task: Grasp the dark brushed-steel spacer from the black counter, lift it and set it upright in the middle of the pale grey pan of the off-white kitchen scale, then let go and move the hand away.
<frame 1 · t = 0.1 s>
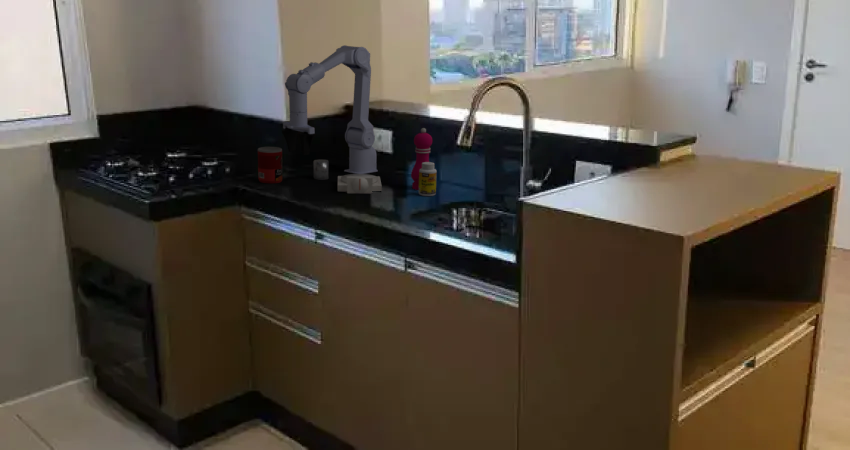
hand: (298, 152, 268), 10 cm above the countertop, fingers open, 7 cm apart
canned food: (270, 181, 272), on the countertop
scale: (359, 186, 268), on the countertop
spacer: (321, 178, 279), on the countertop
supplement bottle: (427, 195, 260), on the countertop
pepper mill: (421, 189, 268), on the countertop
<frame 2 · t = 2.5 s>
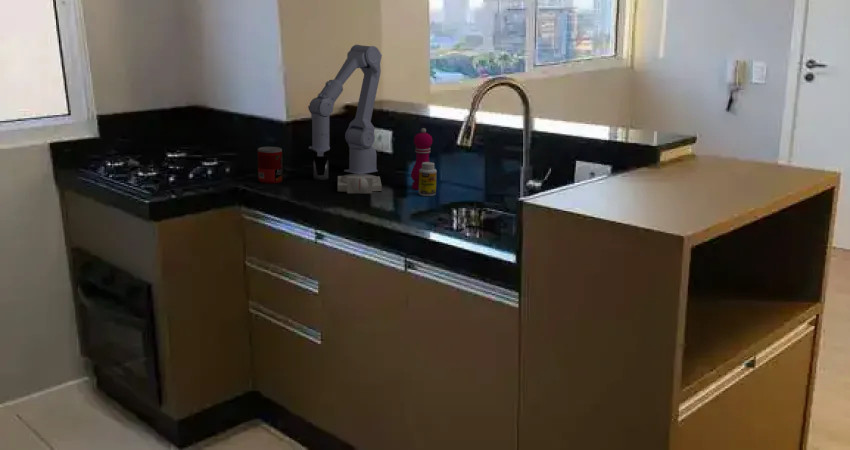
hand: (321, 173, 278), 2 cm above the countertop, fingers closed on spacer, 5 cm apart
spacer: (321, 178, 279), on the countertop, touching gripper
everything else where it was.
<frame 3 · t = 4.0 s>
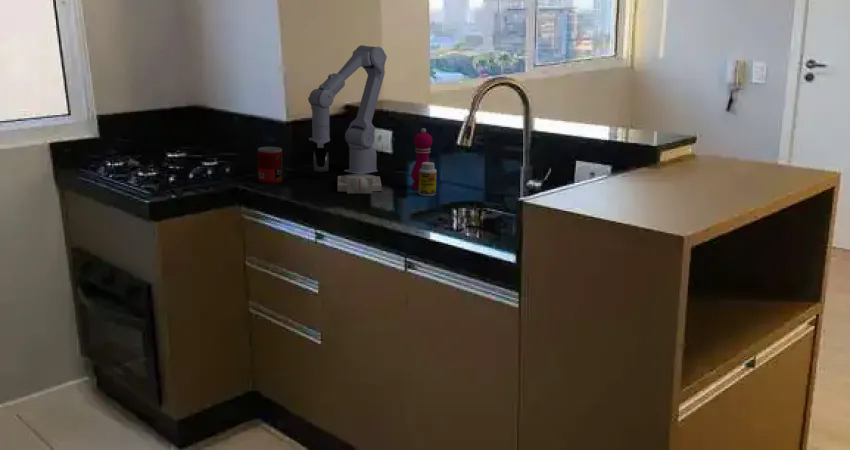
hand: (321, 165, 277), 4 cm above the countertop, fingers closed on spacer, 5 cm apart
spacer: (321, 170, 278), point 3 cm above the countertop, touching gripper
everything else where it was.
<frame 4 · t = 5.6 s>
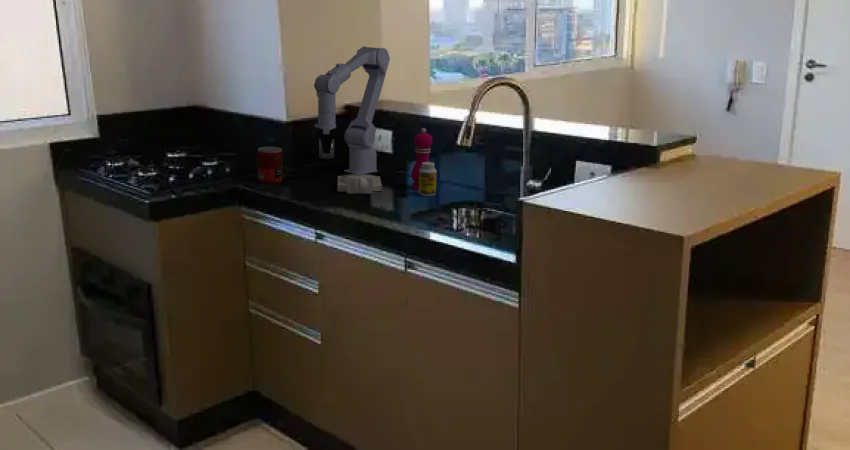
hand: (326, 152, 274), 9 cm above the countertop, fingers closed on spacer, 5 cm apart
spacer: (326, 157, 275), point 8 cm above the countertop, touching gripper
everything else where it was.
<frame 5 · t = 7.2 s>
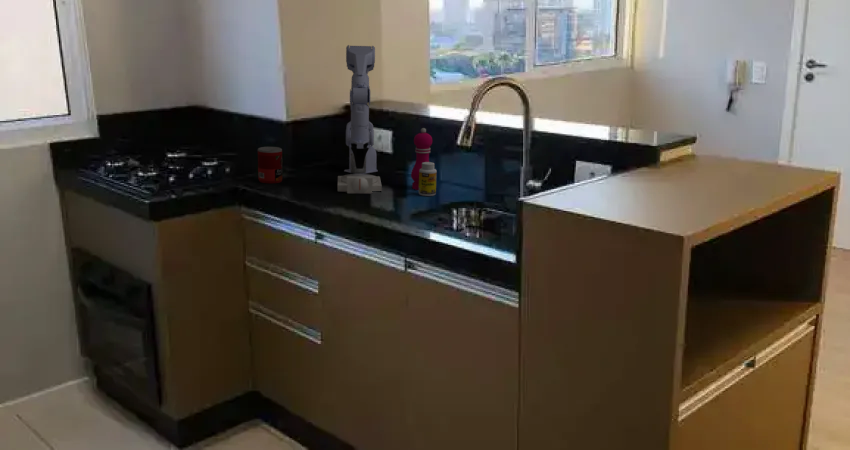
hand: (359, 166, 266), 7 cm above the countertop, fingers closed on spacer, 5 cm apart
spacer: (358, 172, 266), point 5 cm above the countertop, touching gripper
everything else where it was.
when the fingers open (6 cm above the countertop, at t = 8.5 s): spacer drops 1 cm, resting on scale.
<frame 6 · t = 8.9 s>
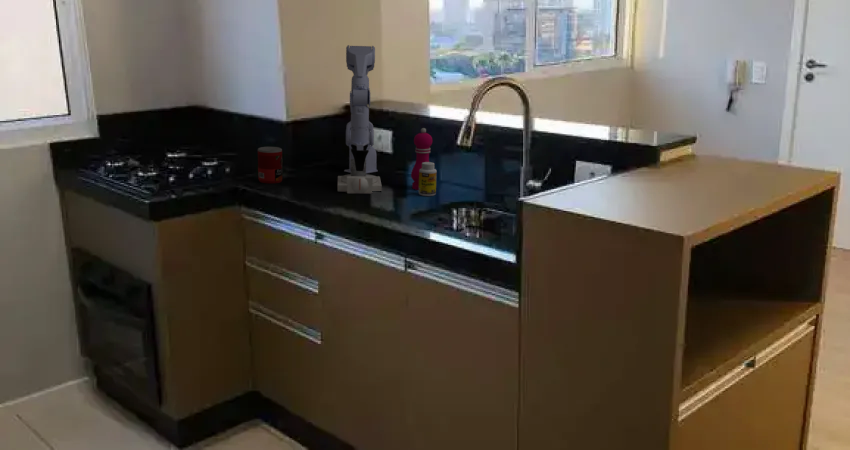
hand: (359, 168, 266), 6 cm above the countertop, fingers open, 7 cm apart
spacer: (358, 177, 267), point 3 cm above the countertop, touching scale
everything else where it was.
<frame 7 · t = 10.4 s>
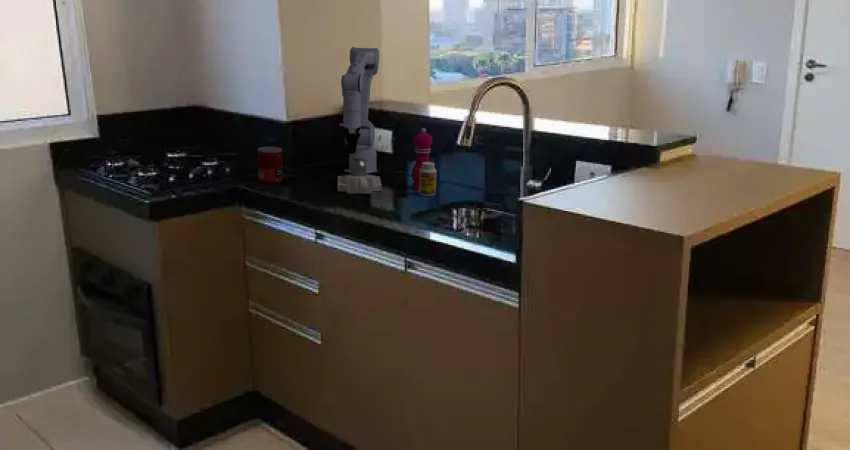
hand: (351, 151, 272), 10 cm above the countertop, fingers open, 7 cm apart
nothing on the countertop moved.
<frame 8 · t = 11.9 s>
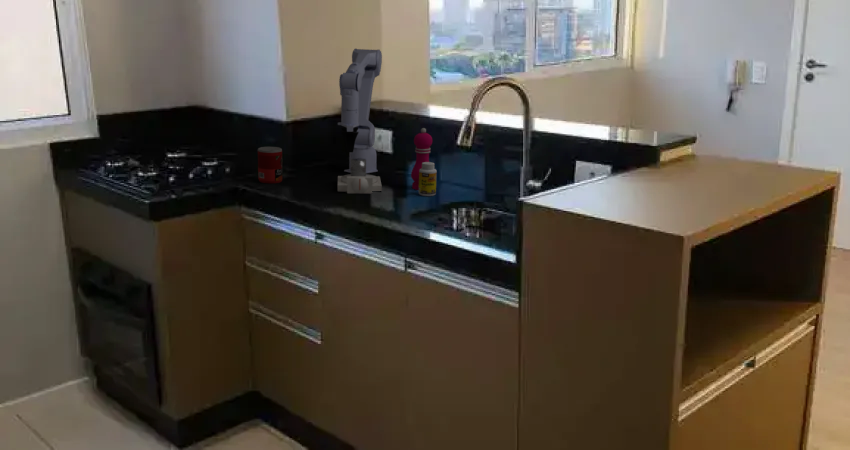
hand: (349, 150, 273), 10 cm above the countertop, fingers open, 7 cm apart
nothing on the countertop moved.
at the end: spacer inside the target area on the scale (0.4 cm from its centre), point 3.0 cm above the scale's base; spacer tilted 0°; the gripper is holding nothing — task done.
